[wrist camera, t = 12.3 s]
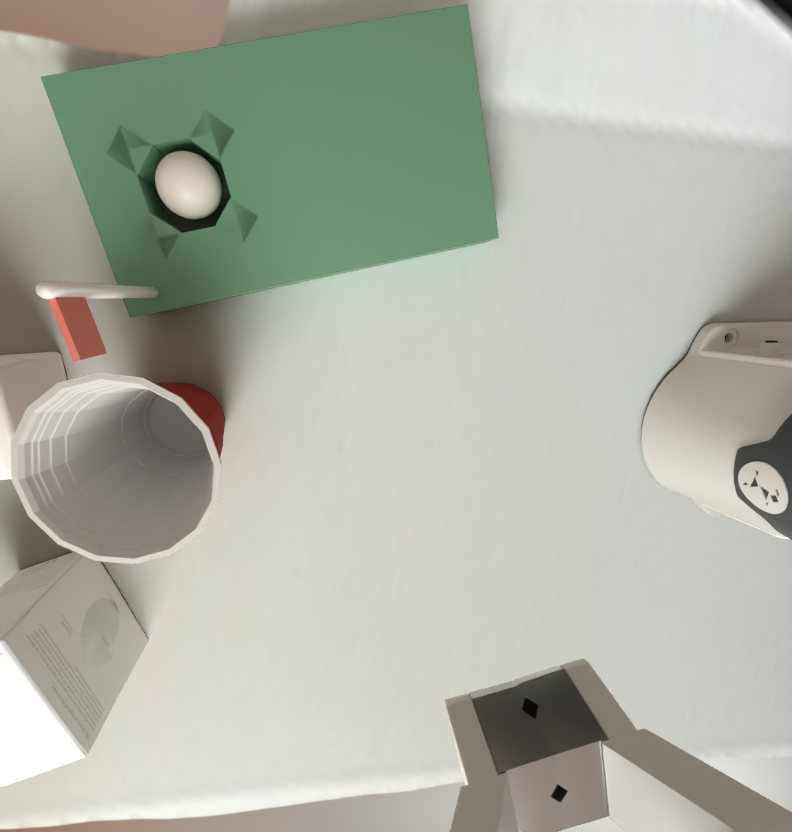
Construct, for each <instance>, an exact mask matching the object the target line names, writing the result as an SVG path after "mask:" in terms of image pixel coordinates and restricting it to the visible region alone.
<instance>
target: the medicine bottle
mask: <svg viewBox="0 0 792 832" xmlns="http://www.w3.org/2000/svg"><path fill="white" fill-rule="evenodd" d="M66 380H67V378H66V374H65V370H64V366H63V362H62V358H61V355H60V354H59V353H58V352H40V353H26V354H12V355H0V480H6V479H11V440H12V438H13V436H14V434H15V432H16V430H17V428H18V425H19V423H20V421H21V419H22V417H23V415H24V413H25V411H26V409H27V407H28V406H29V405H31V404H32V403H33V402H34V401H36V400H37V399H38V398H39V397H41V396H42V395H43V394H44V393H46V392H47V391H48V390H49V389H51V388H52V387H53V386H55V385H56V384H57V383H58V382H62V381H66Z"/></svg>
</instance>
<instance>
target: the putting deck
mask: <svg viewBox="0 0 792 832" xmlns="http://www.w3.org/2000/svg"><path fill="white" fill-rule="evenodd" d="M41 79H42V82H43V84H44V87H45V90H46V92H47V95H48V98H49V100H50V103H51V106H52V109H53V111H54V114H55V117H56V119H57V122H58V125H59V127H60V130H61V133H62V135H63V138H64V141H65V144H66V146H67V149H68V152H69V154H70V157H71V160H72V162H73V165H74V168H75V170H76V173H77V176H78V179H79V181H80V184H81V187H82V189H83V192H84V195H85V197H86V200H87V203H88V205H89V208H90V211H91V214H92V216H93V219H94V222H95V224H96V227H97V230H98V232H99V235H100V238H101V240H102V243H103V246H104V249H105V251H106V254H107V257H108V259H109V262H110V265H111V267H112V270H113V273H114V275H115V278H116V281H117V284H118V285H106V284H87V283H68V282H48V281H41V282H39V283H38V284H37V285H36V292H37V294H38V295H39V296H40V297H41V298H44V299H48V301H49V304H50V306H51V308H52V311H53V313H54V316H55V318H56V320H57V323H58V325H59V327H60V330H61V332H62V335H63V337H64V339H65V342H66V344H67V347H68V349H69V351H70V354H71V356H72V359H73V361H77V360H81V359H85V358H89V357H93V356H97V355H101V354H105V353H107V352H106V350H105V347H104V345H103V342H102V340H101V337H100V334H99V332H98V329H97V327H96V324H95V322H94V319H93V317H92V314H91V312H90V309H89V307H88V304H87V302H86V299H89V298H123V300H124V302H125V305H126V308H127V310H128V313H129V316H130V317H135V316H144V315H150V314H155V313H160V312H164V311H169V310H174V309H178V308H183V307H187V306H192V305H197V304H201V303H206V302H211V301H215V300H220V299H225V298H229V297H234V296H239V295H243V294H248V293H252V292H257V291H262V290H266V289H271V288H276V287H280V286H285V285H290V284H294V283H299V282H303V281H308V280H313V279H317V278H322V277H327V276H331V275H336V274H341V273H345V272H350V271H354V270H359V269H364V268H368V267H373V266H378V265H382V264H387V263H392V262H396V261H401V260H405V259H410V258H415V257H419V256H424V255H429V254H433V253H438V252H443V251H447V250H452V249H456V248H461V247H466V246H470V245H475V244H480V243H484V242H487V241H490V240H493V239H496V238H499V236H498V228H497V221H496V213H495V206H494V199H493V191H492V184H491V176H490V169H489V162H488V154H487V147H486V139H485V132H484V124H483V117H482V110H481V102H480V95H479V87H478V80H477V73H476V65H475V58H474V50H473V43H472V36H471V28H470V21H469V13H468V6H467V4H466V5H460V6H454V7H448V8H442V9H436V10H430V11H425V12H419V13H413V14H407V15H401V16H395V17H389V18H383V19H378V20H372V21H366V22H360V23H354V24H348V25H342V26H336V27H330V28H325V29H319V30H313V31H307V32H301V33H295V34H289V35H283V36H278V37H272V38H266V39H260V40H254V41H248V42H242V43H236V44H231V45H225V46H219V47H213V48H207V49H201V50H195V51H189V52H184V53H178V54H172V55H166V56H160V57H154V58H148V59H142V60H136V61H131V62H125V63H119V64H113V65H107V66H101V67H95V68H89V69H83V70H78V71H72V72H66V73H60V74H54V75H48V76H42V77H41ZM176 151H189V152H193V153H195V154H197V153H203V154H204V155H206V156H207V157H208V158H210V159H211V160H213V161H214V162H216V163H217V164H219V165H220V166H222V168H223V171H224V175H225V178H226V182H227V185H228V188H229V192H230V195H231V198H230V199H229V201H228V203H227V205H226V207H225V209H224V210H223V212H222V214H221V216H220V218H219V220H218V221H217V223H216V226H213V227H208V228H203V229H199V230H194V231H189V232H183V231H182V230H180V229H179V228H177V227H176V226H174V225H172V224H171V223H169V222H168V221H166V219H165V216H164V213H163V210H162V207H161V204H160V201H159V198H158V195H157V192H156V189H155V186H156V185H155V173H156V169H157V166H158V164H159V163H160V161H161V160H162V159H163V158H164V157H165V156H166V155H168V154H170V153H172V152H176Z"/></svg>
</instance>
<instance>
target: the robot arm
mask: <svg viewBox="0 0 792 832" xmlns="http://www.w3.org/2000/svg"><path fill="white" fill-rule="evenodd" d="M725 336H726V339H725ZM641 441H642V451H643V456H644V459H645V462H646V465H647V467H648V469H649V471H650V472H651V474H652V475H653V476H654V478H655V479H656V480H657V481H658V482H659V483H660V484H661V485H663V486H664V487H666V488H667V489H669V490H671V491H673V492H676V493H679V494H682V495H684V496H687V497H689V498H690V499H691V500H692V501H693V502H694V503H695V505H696V506H697V507H698V508H699V509H700V510H701V511H703V512H704V513H707V514H709V515H711V516H714V517H719V516H722V515H724V514H725V515H728V516H730V517H732V518H734V519H737V520H739V521H741V522H744V523H746V524H748V525H751V526H753V527H755V528H758V529H760V530H762V531H765V532H767V533H769V534H772V535H774V536H777V537H779V538H784V539H789V538H790V539H791V540H792V321H768V322H731V323H710V324H708V325H706V326H704V327H703V328H702V329H701V331H700V332H699V333H698V335H697V337H696V338H695V340H694V342H693V344H692V346H691V348H690V350H689V352H688V354H687V356H686V357H685V358H684V359H683V360H682V362H681V363H680V364H679V365H678V366H677V367H676V368H675V369H674V370H672V371H671V372H670V373H669V375H668V376H667V377H666V378H665V379H664V380H663V382H662V383H661V384H660V386H659V387H658V389H657V390H656V392H655V393H654V395H653V397H652V399H651V401H650V403H649V405H648V408H647V410H646V414H645V417H644V421H643V426H642V437H641ZM445 705H446V710H447V714H448V719H449V723H450V727H451V732H452V736H453V740H454V744H455V749H456V753H457V757H458V761H459V765H460V769H461V773H462V776H463V780H464V784H465V786H463V787H461V789H460V793H459V797H458V801H457V805H456V809H455V813H454V818H453V822H452V826H451V830H450V832H558V831H561V830H564V829H567V828H571V827H573V826H577V825H581V824H584V823H587V822H591V821H594V820H597V819H601V818H604V817H607V816H610V819H611V820H612V821H613V822H614V823H615V824H616V825H617V826H619V827H620V828H621V829H622V830H623V831H624V832H792V812H790V811H788V810H786V809H785V808H783V807H781V806H780V805H778V804H776V803H774V802H773V801H771V800H769V799H767V798H766V797H764V796H762V795H760V794H759V793H757V792H755V791H753V790H751V789H750V788H748V787H746V786H744V785H743V784H741V783H739V782H738V781H736V780H734V779H732V778H731V777H729V776H727V775H725V774H724V773H722V772H720V771H718V770H717V769H715V768H713V767H711V766H710V765H708V764H706V763H704V762H703V761H701V760H699V759H697V758H696V757H694V756H692V755H690V754H689V753H687V752H685V751H683V750H682V749H680V748H678V747H676V746H675V745H673V744H671V743H669V742H668V741H666V740H664V739H662V738H661V737H659V736H657V735H655V734H654V733H652V732H650V731H648V730H647V729H641V730H637V729H636V728H635V726H634V725H633V724H632V722H631V721H630V719H629V718H628V717H627V715H626V714H625V712H624V711H623V710H622V708H621V707H620V706H619V704H618V703H617V701H616V700H615V699H614V697H613V696H612V694H611V693H610V692H609V690H608V689H607V687H606V686H605V685H604V683H603V682H602V680H601V679H600V678H599V676H598V675H597V673H596V672H595V671H594V669H593V668H592V666H591V665H590V664H589V662H588V661H586V660H585V659H580V660H577V661H574V662H570V663H567V664H564V665H561V666H556V667H553V668H549V669H546V670H543V671H540V672H537V673H534V674H531V675H527V676H524V677H521V678H518V679H515V680H514V681H511V682H507V683H504V684H500V685H496V686H493V687H489V688H485V689H481V690H478V691H474V692H470V693H469V694H464V695H460V696H457V697H453V698H450V699H446V700H445Z"/></svg>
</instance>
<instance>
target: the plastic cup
mask: <svg viewBox="0 0 792 832" xmlns="http://www.w3.org/2000/svg"><path fill="white" fill-rule="evenodd" d="M224 423H225V418H224V415H223V412H222V410H221V407H220V404H219V403H218V402H217V401H216V399H215V398H214V397H213V396H212V395H211V394H210V393H209V392H207V391H205V390H203V389H201V388H199V387H197V386H195V385H192V384H183V383H153V382H151V381H149V380H147V379H145V378H142V377H134V376H126V375H118V374H110V373H103V372H97V373H93V374H89V375H86V376H82V377H78V378H74V379H70V380H66V381H62V382H58V383H57V384H56V385H55V386H53V387H52V388H51V389H49V390H48V391H47V392H46V393H44V394H43V395H42V396H41V397H39V398H38V399H37V400H36V401H34V402H33V403H32V404H31V405H29V406H28V407H27V409H26V411H25V413H24V415H23V417H22V419H21V421H20V423H19V425H18V428H17V430H16V432H15V434H14V436H13V438H12V440H11V481H12V483H13V485H14V487H15V489H16V491H17V493H18V495H19V498H20V500H21V502H22V504H23V506H24V508H25V510H26V512H27V514H28V516H29V517H30V518H31V519H32V520H33V521H34V522H35V523H36V524H37V525H38V526H39V527H40V528H41V529H42V530H43V531H44V532H45V533H47V534H48V535H49V536H50V537H51V538H52V539H53V540H54V541H55V542H56V543H57V544H58V545H61V546H63V547H65V548H67V549H70V550H72V551H74V552H76V553H79V554H81V555H83V556H85V557H88V558H90V559H92V560H95V561H102V562H114V563H126V564H138V563H142V562H146V561H149V560H153V559H157V558H160V557H164V556H168V555H171V554H173V553H175V552H176V551H177V550H179V549H180V548H181V547H183V546H184V545H185V544H187V543H188V542H189V541H191V540H192V539H193V538H195V537H196V536H197V535H199V534H200V533H201V532H202V530H203V528H204V527H205V525H206V523H207V521H208V519H209V518H210V516H211V514H212V512H213V510H214V509H215V507H216V505H217V503H218V501H219V489H220V476H221V460H220V456H221V451H222V446H223V435H224Z"/></svg>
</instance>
